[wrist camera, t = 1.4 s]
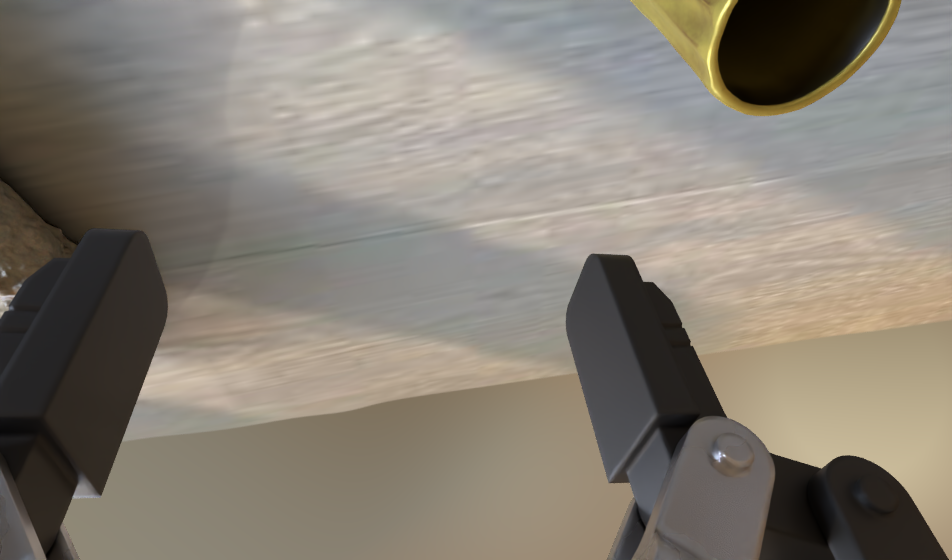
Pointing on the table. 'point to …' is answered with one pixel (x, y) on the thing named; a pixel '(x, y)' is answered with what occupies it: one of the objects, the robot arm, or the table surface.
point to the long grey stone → (24, 244)
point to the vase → (772, 46)
